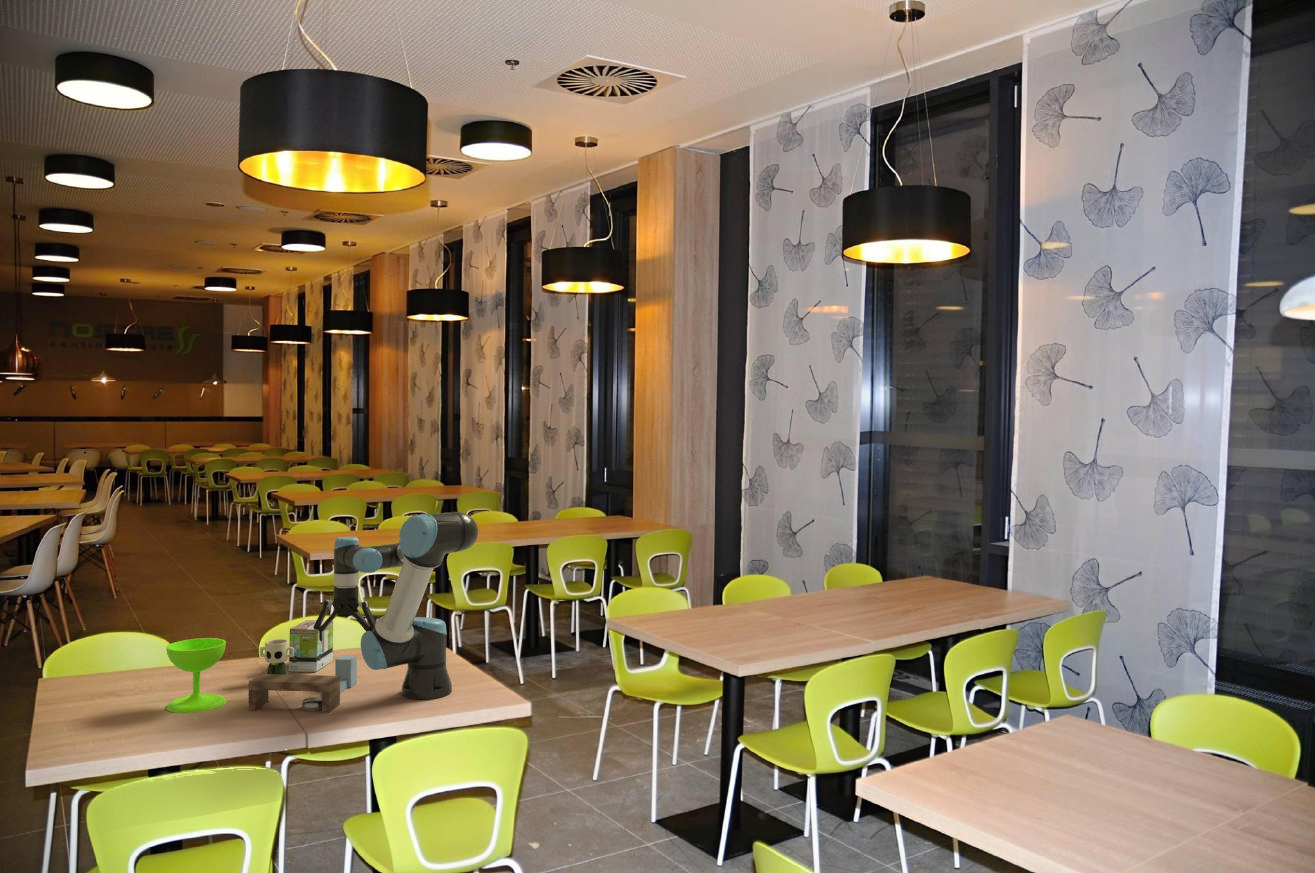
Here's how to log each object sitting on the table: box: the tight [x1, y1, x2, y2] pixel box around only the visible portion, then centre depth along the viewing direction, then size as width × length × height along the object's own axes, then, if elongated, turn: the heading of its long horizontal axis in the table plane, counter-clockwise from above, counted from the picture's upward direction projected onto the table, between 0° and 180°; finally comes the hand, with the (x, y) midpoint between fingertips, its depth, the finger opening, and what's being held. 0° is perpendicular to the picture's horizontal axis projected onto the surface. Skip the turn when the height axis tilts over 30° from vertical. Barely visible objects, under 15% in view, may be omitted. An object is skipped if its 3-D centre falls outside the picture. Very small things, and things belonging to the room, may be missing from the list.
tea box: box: [288, 619, 334, 673], centre depth 324 cm, size 15×10×15 cm
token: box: [301, 696, 322, 713], centre depth 278 cm, size 7×7×2 cm
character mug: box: [259, 638, 294, 675], centre depth 305 cm, size 11×7×13 cm, turn 90°
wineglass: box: [165, 637, 227, 714], centre depth 280 cm, size 16×16×18 cm
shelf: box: [248, 673, 341, 713], centre depth 278 cm, size 24×8×8 cm, turn 86°
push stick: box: [319, 654, 358, 697], centre depth 295 cm, size 18×5×9 cm, turn 176°
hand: (345, 651), depth 302 cm, fingers open, 13 cm apart
